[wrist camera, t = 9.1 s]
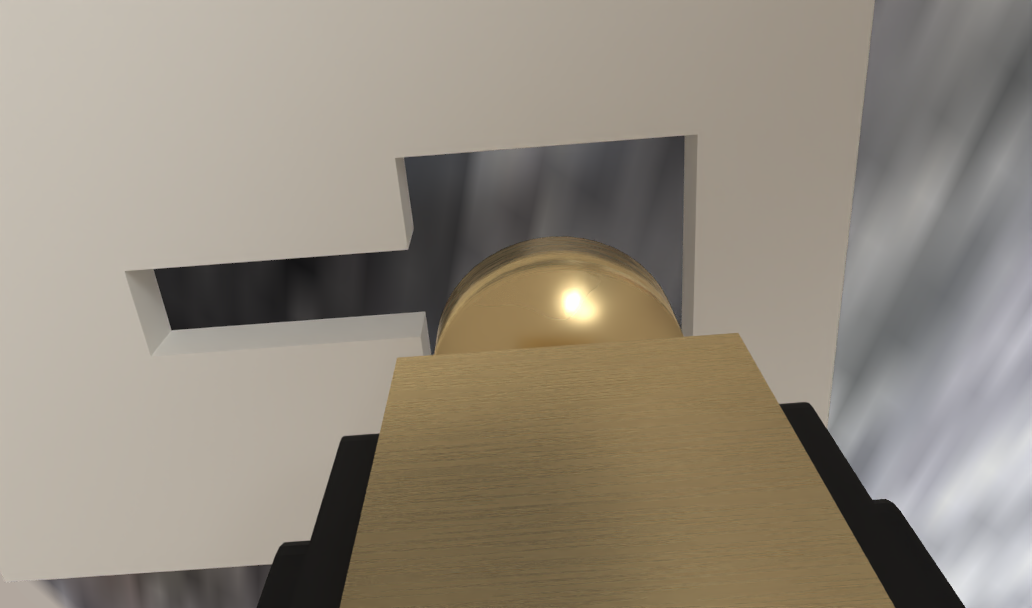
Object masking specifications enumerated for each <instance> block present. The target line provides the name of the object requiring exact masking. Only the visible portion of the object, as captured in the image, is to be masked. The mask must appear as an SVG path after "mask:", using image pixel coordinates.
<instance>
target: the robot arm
mask: <svg viewBox="0 0 1032 608" xmlns="http://www.w3.org/2000/svg"><path fill="white" fill-rule="evenodd" d="M779 405H780V407H781V409H782V410H783V412H784V414H785V416H786V417H787V419H788V421H789V423H790V424H791V426H792V428H793V430H794V431H795V433H796V435H797V437H798V438H799V440H800V442H801V444H802V445H803V447H804V449H805V451H806V452H807V454H808V456H809V458H810V459H811V461H812V463H813V465H814V466H815V468H816V470H817V472H818V473H819V475H820V477H821V479H822V480H823V482H824V484H825V486H826V487H827V489H828V491H829V493H830V494H831V496H832V498H833V500H834V501H835V503H836V505H837V507H838V508H839V510H840V512H841V514H842V515H843V517H844V519H845V521H846V522H847V524H848V526H849V528H850V529H851V531H852V533H853V535H854V536H855V538H856V540H857V542H858V543H859V545H860V547H861V549H862V551H863V552H864V554H865V556H866V558H867V559H868V561H869V563H870V565H871V566H872V568H873V570H874V572H875V573H876V575H877V577H878V579H879V580H880V582H881V584H882V586H883V587H884V589H885V591H886V593H887V594H888V596H889V598H890V600H891V601H892V603H893V605H894V607H895V608H965V606H964V605H963V603H962V602H961V600H960V599H959V597H958V596H957V594H956V593H955V591H954V590H953V588H952V587H951V585H950V584H949V582H948V581H947V579H946V578H945V576H944V575H943V574H942V572H941V571H940V569H939V568H938V566H937V565H936V563H935V562H934V560H933V559H932V557H931V556H930V554H929V553H928V551H927V550H926V548H925V547H924V545H923V544H922V542H921V541H920V539H919V538H918V536H917V535H916V533H915V532H914V531H913V529H912V528H911V526H910V525H909V523H908V522H907V520H906V519H905V517H904V516H903V514H902V513H901V511H900V510H899V509H898V508H897V507H896V505H895V504H894V503H893V502H891V501H889V500H887V499H880V500H872V499H871V497H870V496H869V494H868V493H867V491H866V489H865V488H864V486H863V485H862V483H861V482H860V480H859V479H858V477H857V475H856V474H855V472H854V471H853V469H852V468H851V466H850V464H849V463H848V461H847V460H846V458H845V457H844V455H843V453H842V452H841V450H840V449H839V447H838V446H837V444H836V443H835V441H834V439H833V438H832V436H831V435H830V433H829V432H828V430H827V428H826V427H825V425H824V424H823V422H822V421H821V419H820V417H819V416H818V414H817V413H816V411H815V410H814V408H813V407H812V406H811V404H810V403H808V402H797V403H784V404H779ZM379 434H380V433H377V434H363V435H350V436H343V437H342V438H341V441H340V443H339V447H338V450H337V453H336V456H335V460H334V463H333V466H332V470H331V473H330V476H329V480H328V483H327V486H326V490H325V493H324V496H323V499H322V503H321V506H320V509H319V513H318V516H317V519H316V523H315V526H314V529H313V533H312V536H311V539H310V540H308V541H294V542H284V543H283V544H282V545H281V546H280V547H279V549H278V551H277V553H276V555H275V557H274V560H273V563H272V566H271V569H270V572H269V574H268V577H267V580H266V583H265V586H264V589H263V592H262V594H261V597H260V600H259V603H258V606H257V608H340V604H341V599H342V595H343V590H344V586H345V582H346V577H347V573H348V569H349V564H350V560H351V556H352V551H353V547H354V543H355V538H356V534H357V530H358V525H359V521H360V517H361V512H362V508H363V504H364V499H365V495H366V491H367V486H368V482H369V477H370V473H371V469H372V464H373V460H374V456H375V451H376V447H377V443H378V438H379Z"/></svg>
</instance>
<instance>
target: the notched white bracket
mask: <svg viewBox="0 0 1032 608" xmlns="http://www.w3.org/2000/svg"><path fill="white" fill-rule="evenodd" d="M874 5H875V0H0V572H1V575H2V577H3V579H4V581H5V582H17V581H33V580H48V579H62V578H77V577H91V576H106V575H120V574H135V573H150V572H164V571H179V570H193V569H208V568H223V567H237V566H252V565H266V564H272V563H273V560H274V557H275V555H276V553H277V551H278V549H279V547H280V546H281V545H282V544H283V543H284V542H294V541H308V540H310V539H311V536H312V533H313V529H314V526H315V523H316V519H317V516H318V513H319V509H320V506H321V503H322V499H323V496H324V493H325V490H326V486H327V483H328V480H329V476H330V473H331V470H332V466H333V463H334V460H335V456H336V453H337V450H338V447H339V443H340V441H341V438H342V437H343V436H350V435H363V434H377V433H380V430H381V425H382V421H383V417H384V412H385V408H386V404H387V399H388V395H389V391H390V386H391V382H392V377H393V373H394V369H395V364H396V360H397V358H399V357H413V356H427V355H431V349H430V342H429V335H428V327H427V320H426V313H425V312H412V313H399V314H385V315H372V316H358V317H345V318H331V319H318V320H304V321H291V322H277V323H264V324H250V325H237V326H223V327H210V328H196V329H183V330H171V327H170V324H169V320H168V317H167V314H166V310H165V307H164V303H163V300H162V297H161V293H160V290H159V286H158V283H157V280H156V276H155V273H154V269H159V268H172V267H185V266H199V265H212V264H225V263H238V262H251V261H265V260H278V259H291V258H304V257H318V256H331V255H344V254H357V253H370V252H384V251H397V250H408V248H409V244H410V241H411V237H412V234H413V230H414V226H413V219H412V212H411V204H410V197H409V190H408V183H407V176H406V168H405V161H404V157H414V156H426V155H439V154H452V153H465V152H478V151H491V150H504V149H517V148H529V147H542V146H555V145H568V144H581V143H594V142H607V141H619V140H632V139H645V138H658V137H671V136H684V135H685V151H684V212H683V272H682V333H683V336H684V337H687V336H701V335H714V334H728V333H739V335H740V337H741V338H742V340H743V342H744V344H745V345H746V347H747V349H748V351H749V352H750V354H751V356H752V358H753V359H754V361H755V363H756V365H757V366H758V368H759V370H760V372H761V373H762V375H763V377H764V379H765V380H766V382H767V384H768V386H769V388H770V389H771V391H772V393H773V395H774V396H775V398H776V400H777V402H778V403H779V404H784V403H797V402H808V403H810V404H811V406H812V407H813V408H814V410H815V411H816V413H817V414H818V416H819V417H820V419H821V421H822V422H823V424H824V425H825V427H826V428H827V425H828V416H829V407H830V398H831V389H832V380H833V371H834V362H835V353H836V344H837V335H838V326H839V317H840V308H841V299H842V291H843V282H844V273H845V264H846V255H847V246H848V237H849V228H850V219H851V210H852V201H853V192H854V183H855V174H856V166H857V157H858V148H859V139H860V130H861V121H862V112H863V103H864V94H865V85H866V76H867V67H868V58H869V49H870V40H871V32H872V23H873V14H874Z"/></svg>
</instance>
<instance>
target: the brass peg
mask: <svg viewBox="0 0 1032 608" xmlns="http://www.w3.org/2000/svg"><path fill="white" fill-rule="evenodd" d="M340 608H895V607H894V605H893V603H892V601H891V600H890V598H889V596H888V594H887V593H886V591H885V589H884V587H883V586H882V584H881V582H880V580H879V579H878V577H877V575H876V573H875V572H874V570H873V568H872V566H871V565H870V563H869V561H868V559H867V558H866V556H865V554H864V552H863V551H862V549H861V547H860V545H859V543H858V542H857V540H856V538H855V536H854V535H853V533H852V531H851V529H850V528H849V526H848V524H847V522H846V521H845V519H844V517H843V515H842V514H841V512H840V510H839V508H838V507H837V505H836V503H835V501H834V500H833V498H832V496H831V494H830V493H829V491H828V489H827V487H826V486H825V484H824V482H823V480H822V479H821V477H820V475H819V473H818V472H817V470H816V468H815V466H814V465H813V463H812V461H811V459H810V458H809V456H808V454H807V452H806V451H805V449H804V447H803V445H802V444H801V442H800V440H799V438H798V437H797V435H796V433H795V431H794V430H793V428H792V426H791V424H790V423H789V421H788V419H787V417H786V416H785V414H784V412H783V410H782V409H781V407H780V405H779V403H778V402H777V400H776V398H775V396H774V395H773V393H772V391H771V389H770V388H769V386H768V384H767V382H766V380H765V379H764V377H763V375H762V373H761V372H760V370H759V368H758V366H757V365H756V363H755V361H754V359H753V358H752V356H751V354H750V352H749V351H748V349H747V347H746V345H745V344H744V342H743V340H742V338H741V337H740V335H739V333H728V334H714V335H701V336H687V337H684V336H683V333H682V331H681V329H680V326H679V324H678V322H677V320H676V317H675V315H674V313H673V310H672V308H671V306H670V304H669V301H668V299H667V297H666V295H665V294H664V292H663V290H662V288H661V287H660V285H659V284H658V283H657V281H656V280H655V279H654V277H653V276H652V275H651V274H650V273H649V272H648V271H647V270H646V269H645V268H644V267H643V266H642V265H641V264H639V263H638V262H637V261H635V260H634V259H633V258H631V257H630V256H628V255H627V254H625V253H623V252H621V251H619V250H617V249H616V248H613V247H611V246H608V245H606V244H603V243H600V242H597V241H593V240H588V239H584V238H576V237H567V236H564V237H544V238H537V239H531V240H528V241H524V242H520V243H517V244H514V245H512V246H509V247H507V248H504V249H502V250H500V251H498V252H496V253H495V254H493V255H491V256H489V257H487V258H486V259H485V260H483V261H482V262H481V263H479V264H478V265H477V266H475V267H474V268H473V269H472V270H471V271H470V272H469V273H468V274H467V275H466V276H465V277H464V278H463V279H462V280H461V282H460V283H459V284H458V285H457V287H456V288H455V289H454V291H453V293H452V294H451V296H450V298H449V299H448V301H447V303H446V305H445V308H444V310H443V313H442V315H441V319H440V323H439V327H438V332H437V339H436V346H435V352H434V355H427V356H413V357H399V358H397V360H396V364H395V369H394V373H393V377H392V382H391V386H390V391H389V395H388V399H387V404H386V408H385V412H384V417H383V421H382V425H381V430H380V434H379V438H378V443H377V447H376V451H375V456H374V460H373V464H372V469H371V473H370V477H369V482H368V486H367V491H366V495H365V499H364V504H363V508H362V512H361V517H360V521H359V525H358V530H357V534H356V538H355V543H354V547H353V551H352V556H351V560H350V564H349V569H348V573H347V577H346V582H345V586H344V590H343V595H342V599H341V604H340Z"/></svg>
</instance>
